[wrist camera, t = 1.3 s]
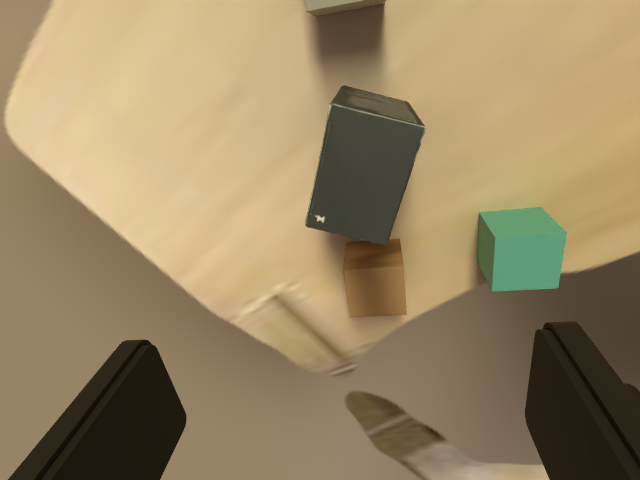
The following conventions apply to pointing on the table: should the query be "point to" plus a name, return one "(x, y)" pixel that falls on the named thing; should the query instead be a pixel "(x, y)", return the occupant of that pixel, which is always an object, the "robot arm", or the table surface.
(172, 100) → the table surface
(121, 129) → the table surface
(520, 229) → the teal cube
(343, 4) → the slate cube
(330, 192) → the box
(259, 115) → the table surface
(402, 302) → the walnut cube
